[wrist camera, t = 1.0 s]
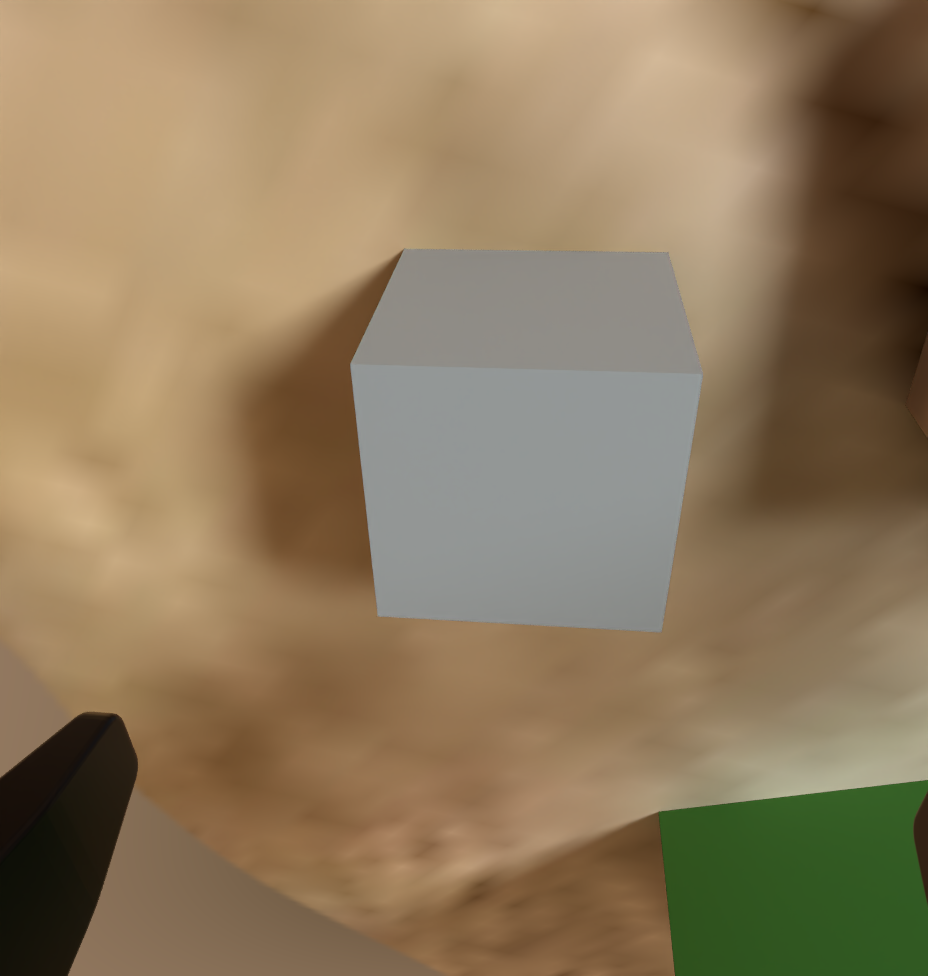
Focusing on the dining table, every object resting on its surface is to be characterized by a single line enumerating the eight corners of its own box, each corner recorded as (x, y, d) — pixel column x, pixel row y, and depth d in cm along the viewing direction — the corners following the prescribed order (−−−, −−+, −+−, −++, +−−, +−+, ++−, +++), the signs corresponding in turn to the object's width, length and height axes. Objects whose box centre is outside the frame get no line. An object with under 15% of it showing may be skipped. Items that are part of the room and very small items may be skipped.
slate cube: (667, 251, 16) (703, 374, 12) (641, 471, 19) (661, 632, 14) (405, 247, 16) (350, 364, 12) (418, 463, 19) (377, 616, 15)
